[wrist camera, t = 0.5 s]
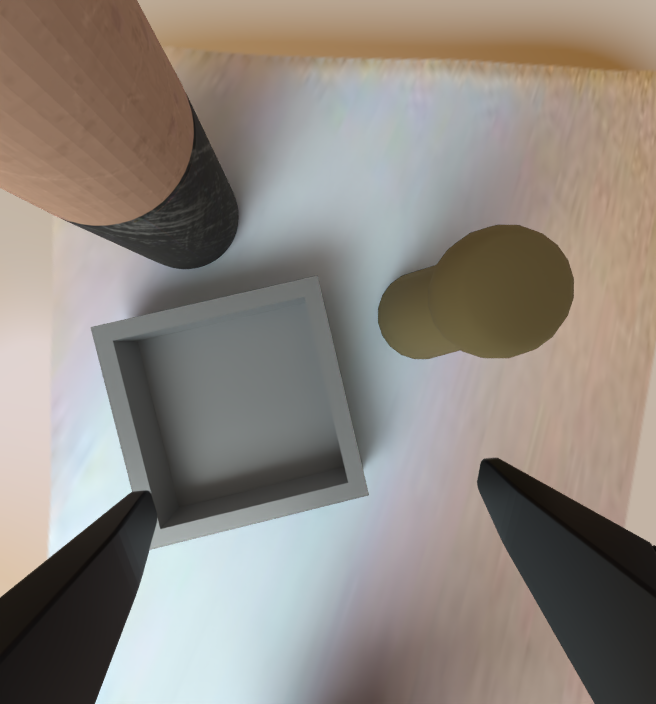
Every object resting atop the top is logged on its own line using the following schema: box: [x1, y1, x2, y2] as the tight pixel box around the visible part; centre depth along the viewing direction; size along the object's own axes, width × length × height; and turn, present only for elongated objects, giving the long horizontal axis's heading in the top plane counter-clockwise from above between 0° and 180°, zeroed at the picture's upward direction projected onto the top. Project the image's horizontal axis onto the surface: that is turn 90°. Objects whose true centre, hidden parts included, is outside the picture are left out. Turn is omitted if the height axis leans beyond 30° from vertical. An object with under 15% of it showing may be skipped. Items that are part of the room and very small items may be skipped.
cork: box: [378, 225, 574, 359], centre depth 17 cm, size 6×6×11 cm
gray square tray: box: [91, 275, 369, 550], centre depth 20 cm, size 13×13×4 cm
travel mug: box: [0, 0, 238, 269], centre depth 12 cm, size 8×8×20 cm
